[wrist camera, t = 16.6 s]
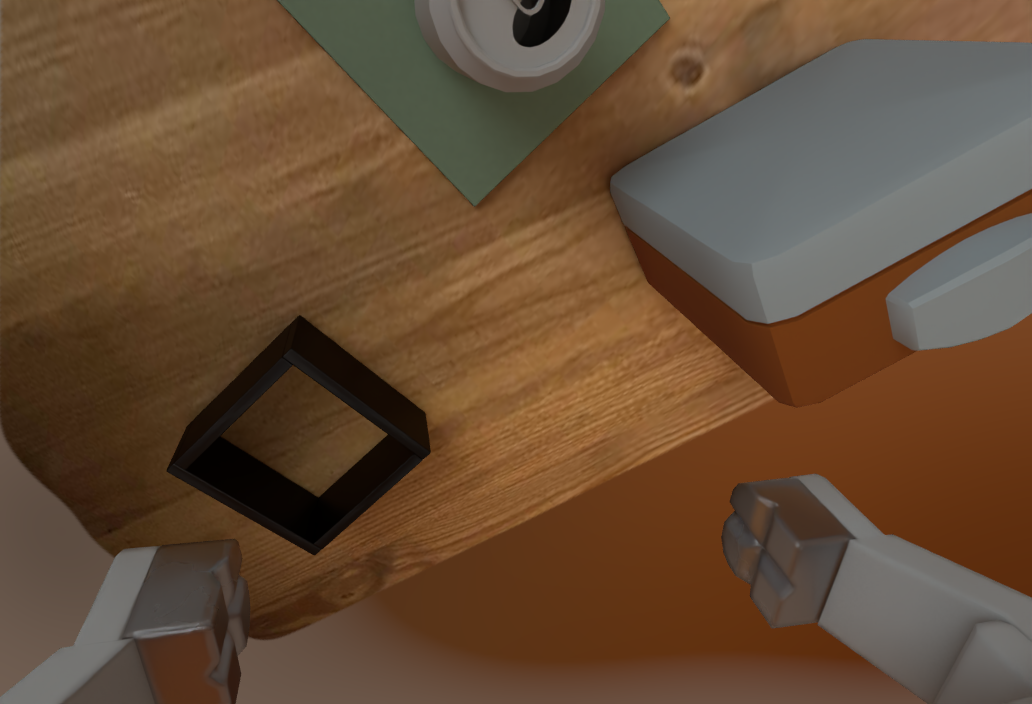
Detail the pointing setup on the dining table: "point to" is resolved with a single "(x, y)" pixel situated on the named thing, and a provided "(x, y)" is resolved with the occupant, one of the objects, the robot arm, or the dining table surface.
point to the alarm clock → (847, 212)
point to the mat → (463, 83)
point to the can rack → (267, 491)
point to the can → (510, 38)
